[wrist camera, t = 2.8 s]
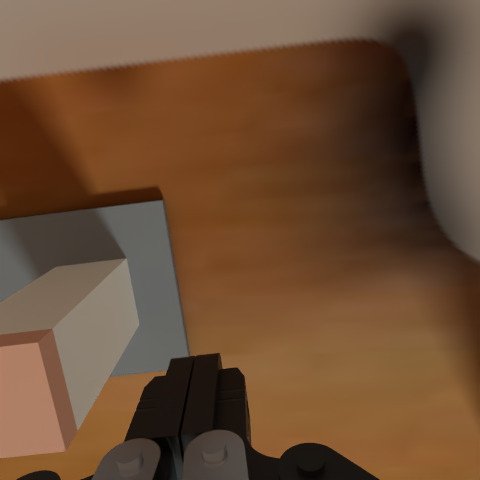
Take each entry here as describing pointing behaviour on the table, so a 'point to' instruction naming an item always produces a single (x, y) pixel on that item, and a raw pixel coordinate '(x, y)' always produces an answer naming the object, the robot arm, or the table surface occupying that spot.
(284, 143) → the table surface
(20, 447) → the cream block
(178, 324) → the slate mat
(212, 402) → the robot arm
